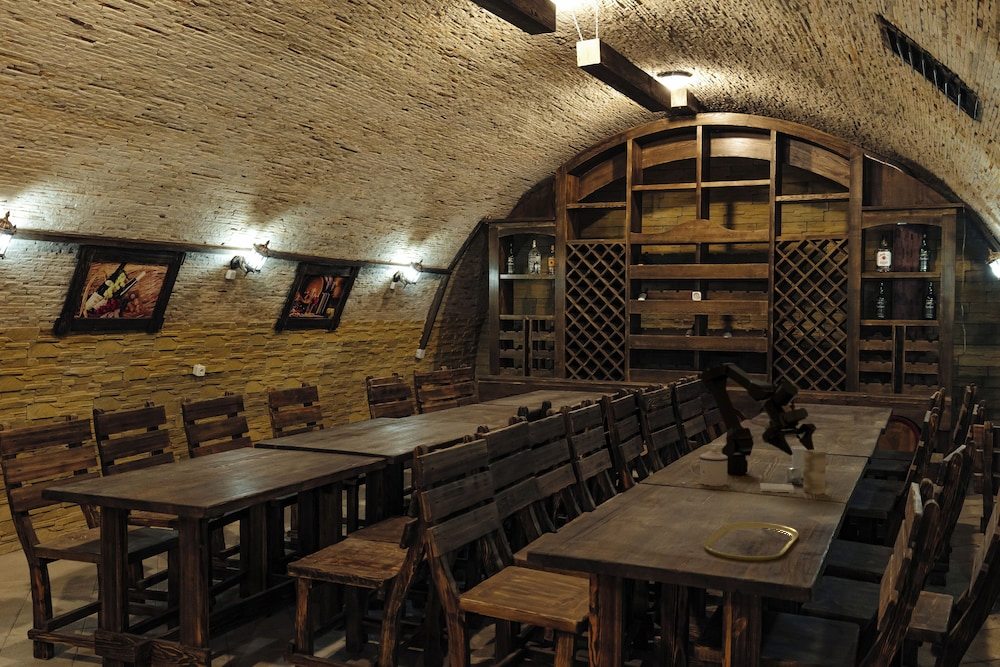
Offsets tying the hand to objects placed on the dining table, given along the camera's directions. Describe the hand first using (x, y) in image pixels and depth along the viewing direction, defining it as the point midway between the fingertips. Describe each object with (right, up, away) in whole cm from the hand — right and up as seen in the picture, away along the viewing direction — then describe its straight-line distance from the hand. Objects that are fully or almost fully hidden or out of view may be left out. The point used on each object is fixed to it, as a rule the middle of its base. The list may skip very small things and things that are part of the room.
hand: (802, 453), depth 288 cm
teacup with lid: (-28, -11, +9) cm, 31 cm away
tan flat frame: (-34, -14, -65) cm, 75 cm away
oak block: (+2, -12, -4) cm, 12 cm away
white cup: (+7, -11, +22) cm, 26 cm away
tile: (-8, -11, 0) cm, 14 cm away
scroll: (+33, -8, +128) cm, 133 cm away
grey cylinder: (+1, -11, +11) cm, 15 cm away
